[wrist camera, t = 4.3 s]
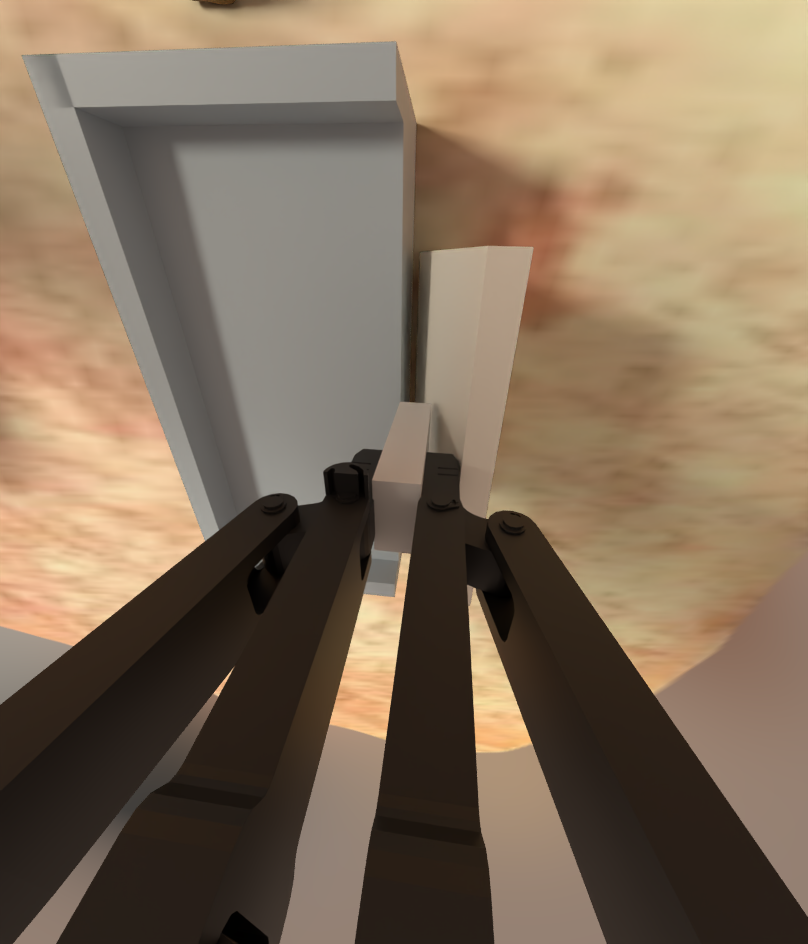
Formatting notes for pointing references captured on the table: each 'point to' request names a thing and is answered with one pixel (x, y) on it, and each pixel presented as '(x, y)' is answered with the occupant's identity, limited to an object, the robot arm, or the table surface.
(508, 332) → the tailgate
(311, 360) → the bed
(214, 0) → the rock
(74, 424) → the table surface
